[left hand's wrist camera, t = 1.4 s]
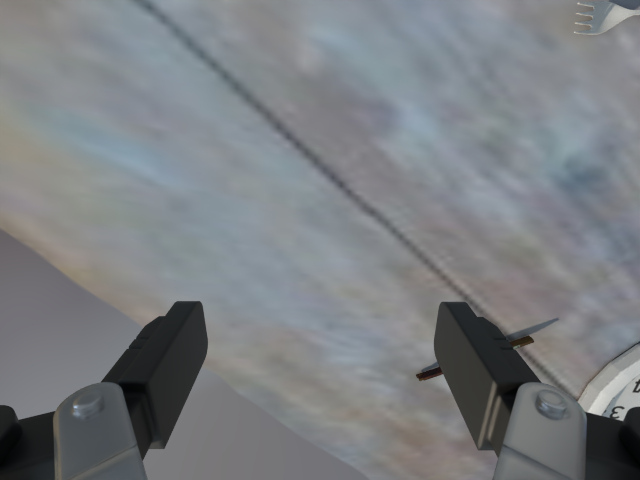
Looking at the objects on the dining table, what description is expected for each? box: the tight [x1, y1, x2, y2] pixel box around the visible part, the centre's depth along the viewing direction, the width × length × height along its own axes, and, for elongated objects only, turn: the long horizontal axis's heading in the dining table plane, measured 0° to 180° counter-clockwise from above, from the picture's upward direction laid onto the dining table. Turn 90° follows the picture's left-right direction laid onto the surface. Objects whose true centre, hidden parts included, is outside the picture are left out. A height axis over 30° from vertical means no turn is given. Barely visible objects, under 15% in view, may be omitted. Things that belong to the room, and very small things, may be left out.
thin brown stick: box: [416, 336, 534, 381], centre depth 43 cm, size 15×1×1 cm, turn 115°
